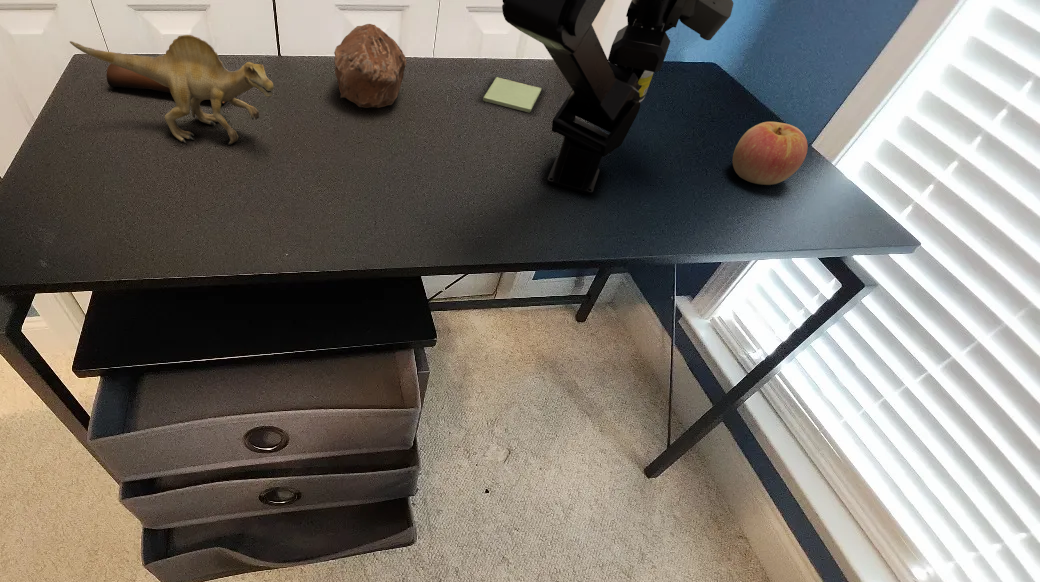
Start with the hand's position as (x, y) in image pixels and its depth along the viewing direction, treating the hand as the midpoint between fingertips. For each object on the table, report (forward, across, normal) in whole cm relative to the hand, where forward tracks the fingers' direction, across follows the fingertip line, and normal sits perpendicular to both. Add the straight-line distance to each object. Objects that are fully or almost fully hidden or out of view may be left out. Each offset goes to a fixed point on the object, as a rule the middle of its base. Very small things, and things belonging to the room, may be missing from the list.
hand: (629, 84), depth 81 cm
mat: (+12, +10, +18) cm, 23 cm away
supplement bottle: (+2, 0, 0) cm, 2 cm away
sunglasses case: (+7, -16, +66) cm, 68 cm away
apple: (+13, +5, -21) cm, 25 cm away
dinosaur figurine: (+6, -24, +56) cm, 61 cm away
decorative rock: (+9, -3, +39) cm, 40 cm away
